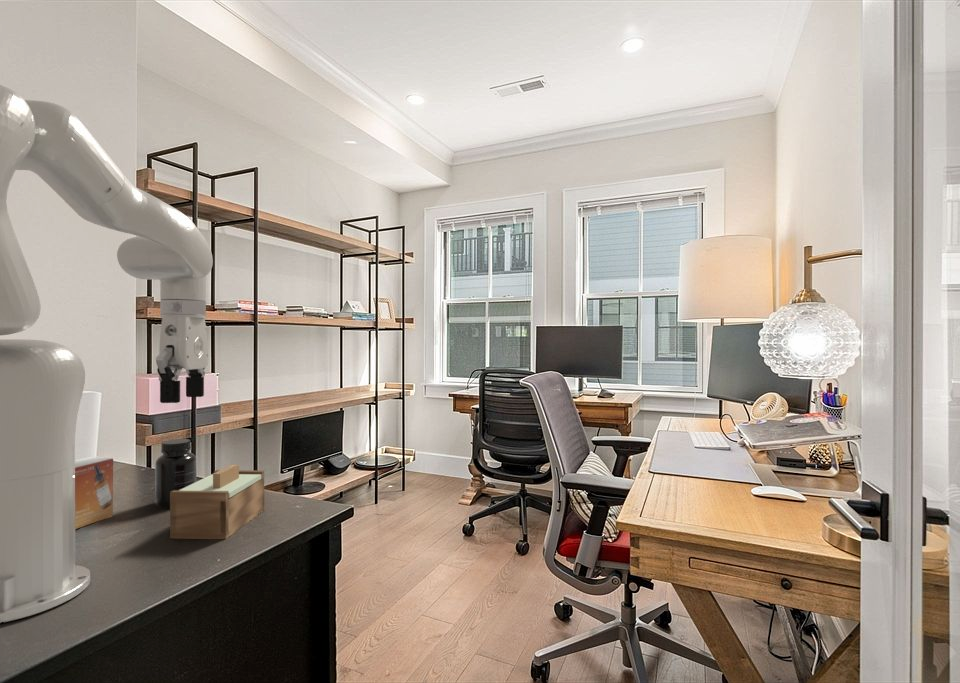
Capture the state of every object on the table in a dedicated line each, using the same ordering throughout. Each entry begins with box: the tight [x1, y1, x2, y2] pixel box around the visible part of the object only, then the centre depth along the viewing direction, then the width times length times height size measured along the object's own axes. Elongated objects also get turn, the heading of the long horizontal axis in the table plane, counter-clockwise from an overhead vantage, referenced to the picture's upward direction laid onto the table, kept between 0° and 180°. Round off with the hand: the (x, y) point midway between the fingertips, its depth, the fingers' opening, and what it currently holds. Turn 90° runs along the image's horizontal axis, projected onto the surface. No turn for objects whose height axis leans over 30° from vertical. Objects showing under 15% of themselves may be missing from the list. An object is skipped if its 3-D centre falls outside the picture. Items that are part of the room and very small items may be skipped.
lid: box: [179, 463, 261, 498], centre depth 84 cm, size 11×9×3 cm
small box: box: [75, 456, 114, 530], centre depth 84 cm, size 8×6×10 cm
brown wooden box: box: [169, 469, 265, 540], centre depth 84 cm, size 13×9×7 cm
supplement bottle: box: [154, 438, 197, 509], centre depth 94 cm, size 7×7×12 cm
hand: (183, 399), depth 94 cm, fingers open, 9 cm apart
